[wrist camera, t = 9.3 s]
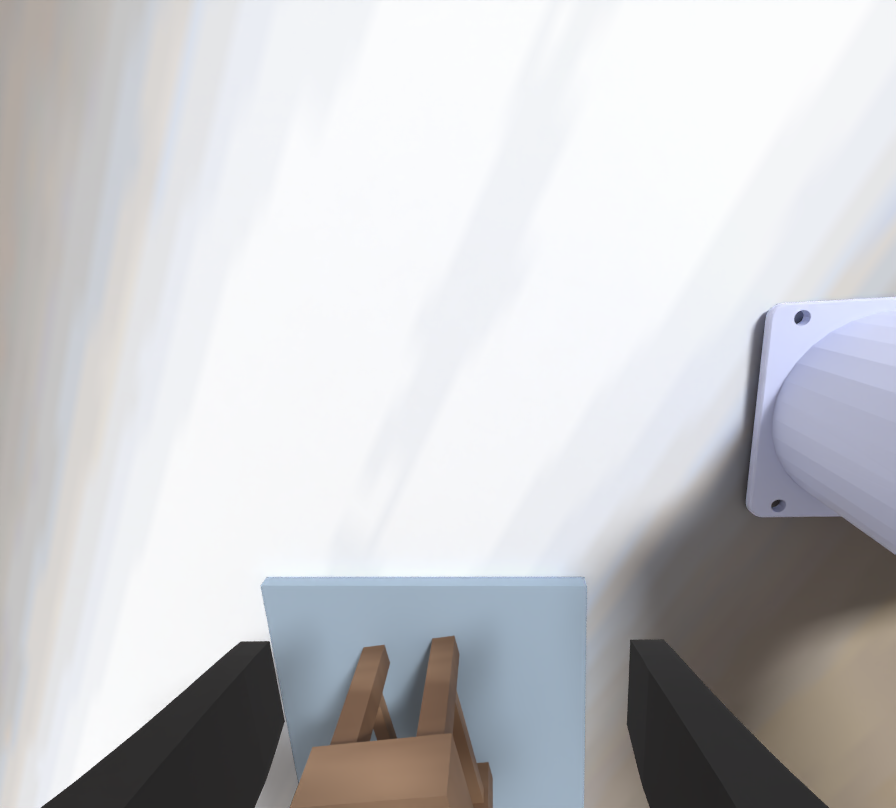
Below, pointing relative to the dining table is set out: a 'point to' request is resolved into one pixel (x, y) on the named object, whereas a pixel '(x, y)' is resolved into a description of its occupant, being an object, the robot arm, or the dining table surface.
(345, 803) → the stool
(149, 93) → the dining table surface
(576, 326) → the dining table surface
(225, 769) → the robot arm
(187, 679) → the dining table surface
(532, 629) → the mat
